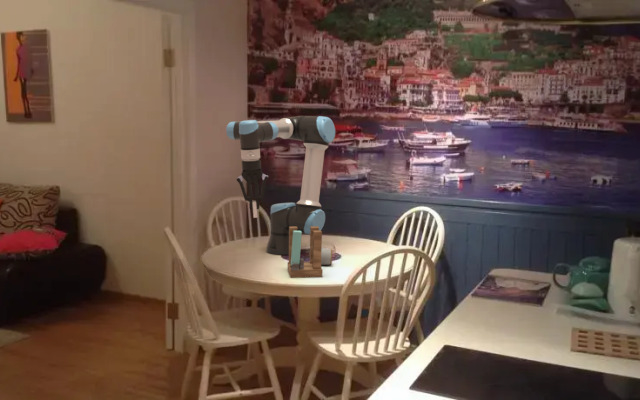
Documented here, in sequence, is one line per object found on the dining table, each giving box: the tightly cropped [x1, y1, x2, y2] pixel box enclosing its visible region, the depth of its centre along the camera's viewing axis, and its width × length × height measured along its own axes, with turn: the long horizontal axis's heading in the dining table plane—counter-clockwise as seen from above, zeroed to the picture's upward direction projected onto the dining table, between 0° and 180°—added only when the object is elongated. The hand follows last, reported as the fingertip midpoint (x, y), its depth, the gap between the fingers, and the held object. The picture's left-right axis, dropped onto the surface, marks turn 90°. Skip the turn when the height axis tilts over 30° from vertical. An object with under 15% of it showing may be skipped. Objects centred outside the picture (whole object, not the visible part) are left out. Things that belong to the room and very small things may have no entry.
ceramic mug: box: [321, 247, 333, 266], centre depth 273 cm, size 11×8×8 cm
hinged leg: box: [291, 230, 303, 266], centre depth 252 cm, size 3×3×15 cm
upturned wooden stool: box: [287, 226, 323, 279], centre depth 256 cm, size 14×13×18 cm
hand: (255, 216), depth 252 cm, fingers closed
